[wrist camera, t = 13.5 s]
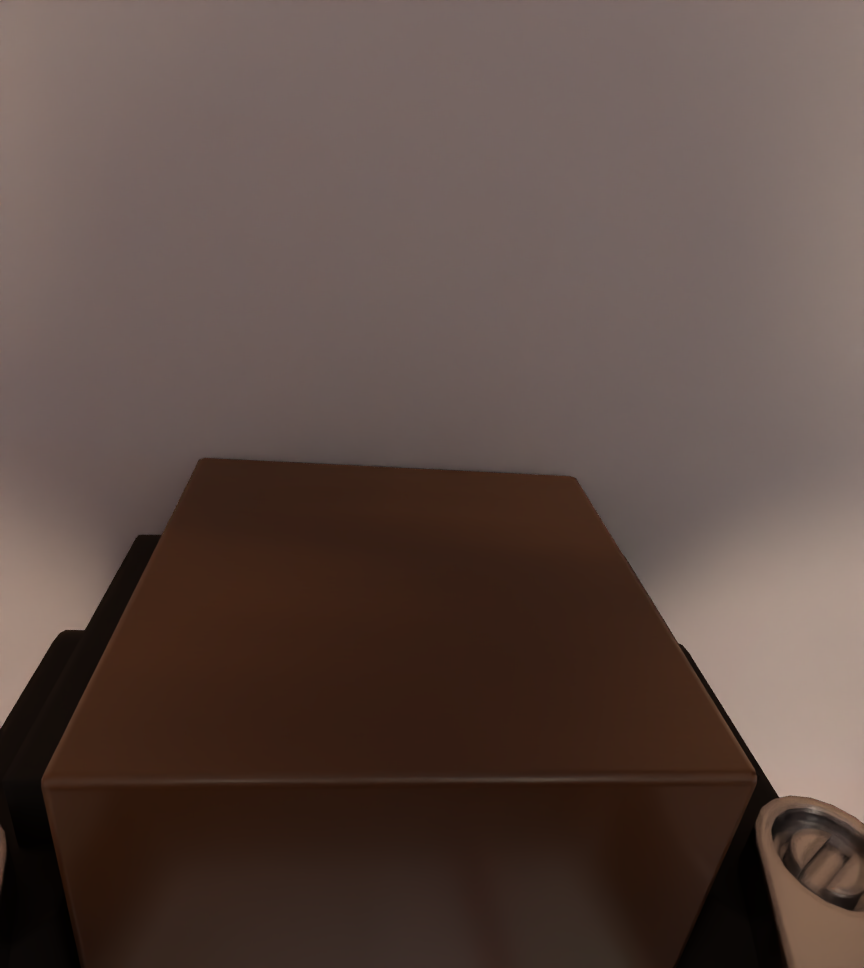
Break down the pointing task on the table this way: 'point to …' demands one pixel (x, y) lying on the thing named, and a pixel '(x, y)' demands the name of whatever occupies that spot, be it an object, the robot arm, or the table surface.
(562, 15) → the table surface
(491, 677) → the block
